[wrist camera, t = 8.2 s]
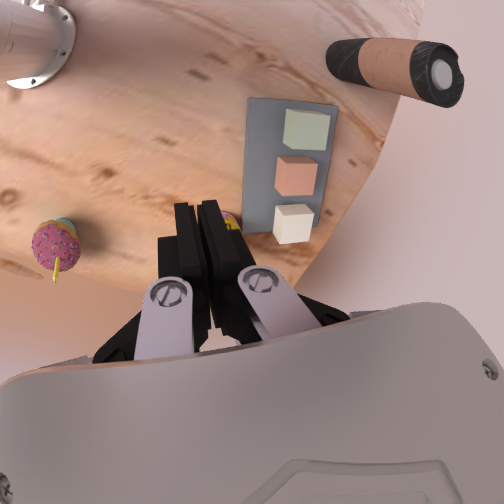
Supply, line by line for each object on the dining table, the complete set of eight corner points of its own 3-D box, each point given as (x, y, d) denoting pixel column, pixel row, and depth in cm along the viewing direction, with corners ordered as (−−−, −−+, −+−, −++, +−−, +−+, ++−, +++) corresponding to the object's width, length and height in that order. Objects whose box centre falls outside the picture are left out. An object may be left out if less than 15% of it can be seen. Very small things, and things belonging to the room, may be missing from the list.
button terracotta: (277, 156, 39) (286, 163, 36) (307, 156, 40) (317, 163, 38) (274, 187, 42) (282, 196, 39) (303, 186, 43) (312, 194, 41)
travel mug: (319, 75, 34) (419, 94, 19) (328, 32, 30) (431, 29, 15) (358, 88, 37) (457, 118, 21) (367, 48, 32) (469, 62, 17)
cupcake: (89, 214, 37) (71, 262, 28) (83, 257, 41) (70, 309, 32) (42, 203, 33) (13, 247, 24) (40, 247, 37) (18, 296, 28)
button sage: (286, 108, 33) (296, 112, 31) (318, 111, 35) (330, 115, 32) (282, 142, 36) (292, 149, 34) (314, 143, 38) (325, 150, 35)
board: (247, 97, 34) (254, 99, 32) (334, 105, 38) (345, 109, 35) (240, 230, 47) (245, 241, 45) (314, 223, 51) (322, 233, 48)
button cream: (275, 205, 42) (283, 215, 40) (304, 203, 44) (314, 213, 41) (272, 232, 45) (279, 244, 43) (300, 230, 47) (308, 241, 44)
